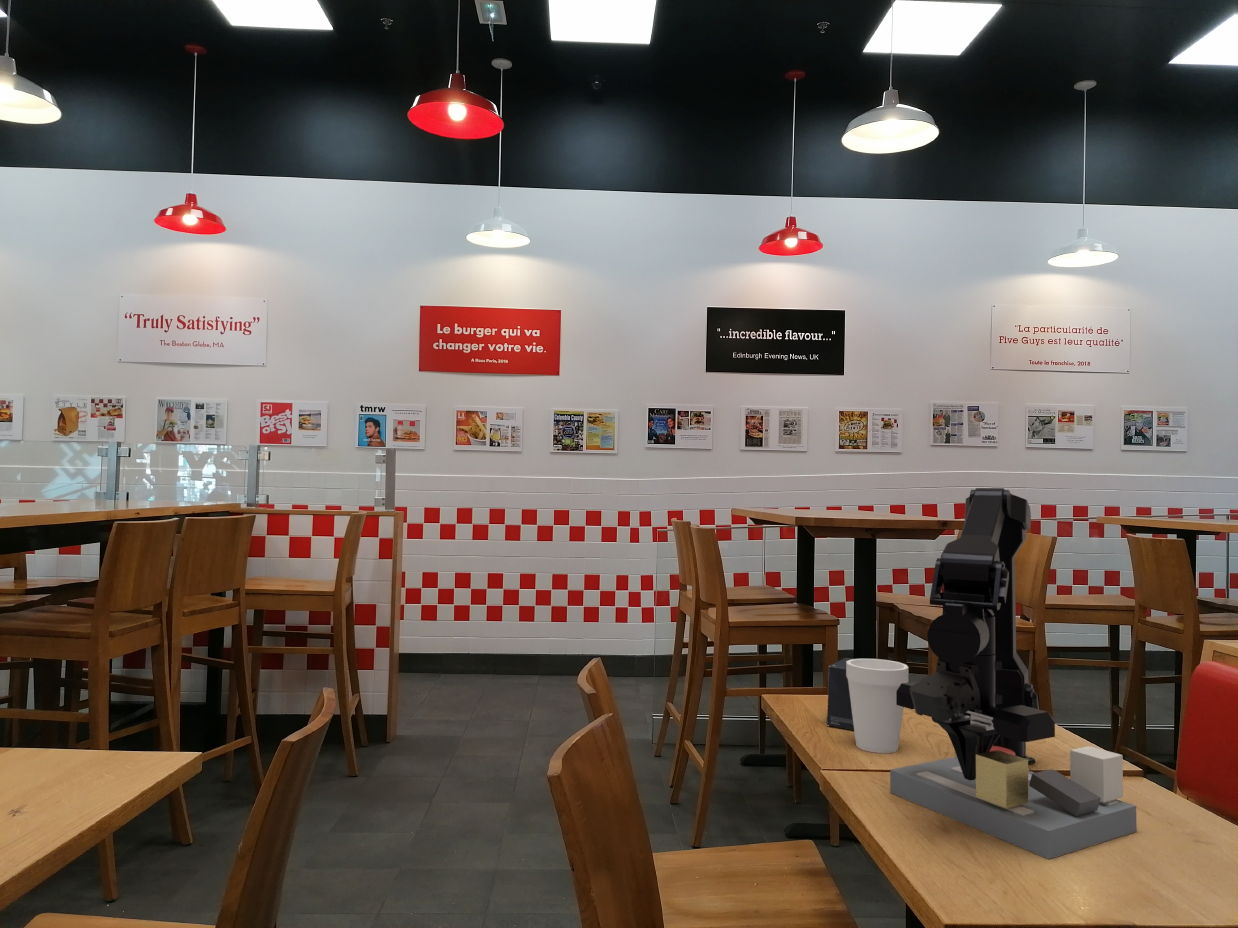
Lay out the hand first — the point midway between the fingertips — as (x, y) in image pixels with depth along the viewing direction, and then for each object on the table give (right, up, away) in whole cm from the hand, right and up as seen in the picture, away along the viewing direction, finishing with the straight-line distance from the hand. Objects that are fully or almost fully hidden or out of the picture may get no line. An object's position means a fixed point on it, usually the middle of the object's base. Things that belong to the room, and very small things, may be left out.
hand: (969, 779), depth 97 cm
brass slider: (+2, -1, -4) cm, 4 cm away
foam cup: (-2, -6, +28) cm, 29 cm away
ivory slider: (+15, -1, -1) cm, 15 cm away
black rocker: (+9, 0, -4) cm, 10 cm away
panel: (+6, -5, +2) cm, 8 cm away
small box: (-2, -7, +42) cm, 42 cm away
